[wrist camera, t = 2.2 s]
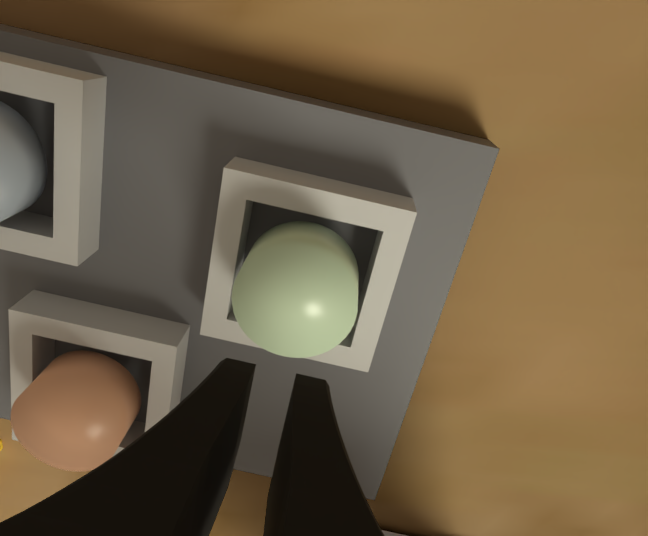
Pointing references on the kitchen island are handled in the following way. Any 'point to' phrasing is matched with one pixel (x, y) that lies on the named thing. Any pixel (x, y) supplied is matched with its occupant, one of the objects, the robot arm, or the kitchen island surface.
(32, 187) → the slate button
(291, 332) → the sage button
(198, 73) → the button panel
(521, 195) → the kitchen island surface
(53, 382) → the terracotta button
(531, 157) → the kitchen island surface
